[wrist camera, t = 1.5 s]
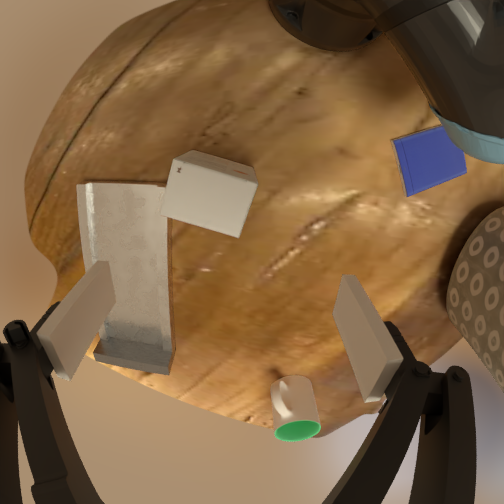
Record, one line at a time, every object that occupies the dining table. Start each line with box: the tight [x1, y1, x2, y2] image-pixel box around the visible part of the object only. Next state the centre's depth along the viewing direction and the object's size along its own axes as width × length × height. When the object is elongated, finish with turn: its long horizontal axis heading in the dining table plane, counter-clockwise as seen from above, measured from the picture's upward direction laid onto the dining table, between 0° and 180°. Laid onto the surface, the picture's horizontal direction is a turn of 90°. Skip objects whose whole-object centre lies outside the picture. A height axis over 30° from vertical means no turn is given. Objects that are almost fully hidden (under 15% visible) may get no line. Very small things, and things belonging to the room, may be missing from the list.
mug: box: [270, 375, 321, 441], centre depth 45 cm, size 12×8×10 cm
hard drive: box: [391, 125, 467, 197], centre depth 33 cm, size 2×8×12 cm
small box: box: [160, 150, 258, 238], centre depth 29 cm, size 8×6×10 cm
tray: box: [77, 180, 176, 375], centre depth 37 cm, size 28×13×6 cm, turn 173°
